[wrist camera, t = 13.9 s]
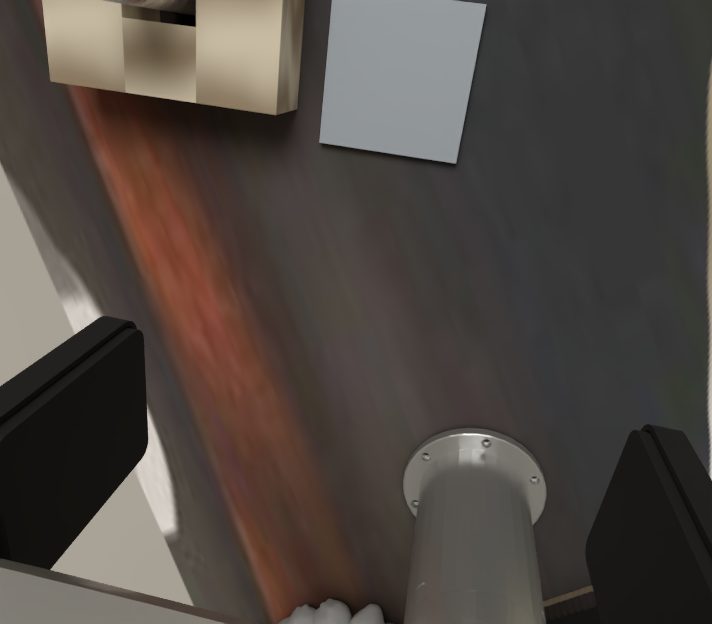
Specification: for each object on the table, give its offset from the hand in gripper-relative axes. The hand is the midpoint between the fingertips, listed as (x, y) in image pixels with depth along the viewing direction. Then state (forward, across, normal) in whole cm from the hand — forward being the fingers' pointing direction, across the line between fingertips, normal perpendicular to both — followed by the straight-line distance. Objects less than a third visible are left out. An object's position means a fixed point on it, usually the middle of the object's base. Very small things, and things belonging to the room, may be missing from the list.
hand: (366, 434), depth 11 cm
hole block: (+33, +19, -9) cm, 39 cm away
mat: (+33, +4, -5) cm, 34 cm away
